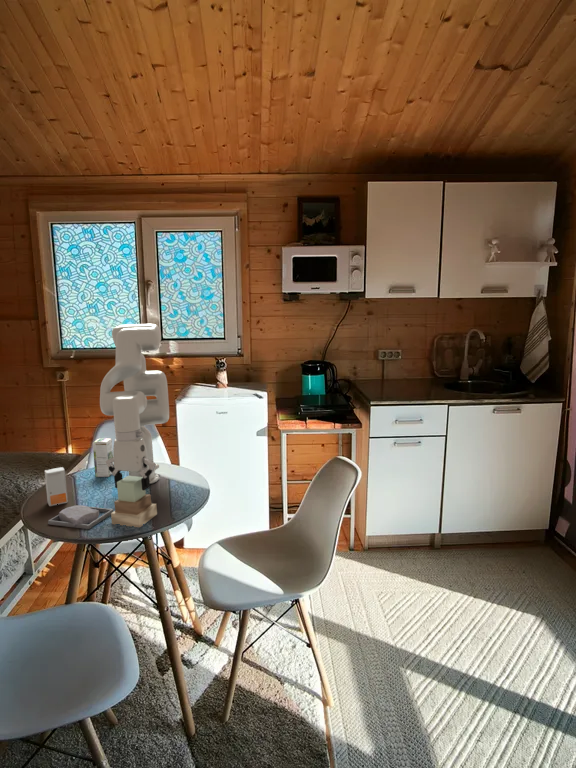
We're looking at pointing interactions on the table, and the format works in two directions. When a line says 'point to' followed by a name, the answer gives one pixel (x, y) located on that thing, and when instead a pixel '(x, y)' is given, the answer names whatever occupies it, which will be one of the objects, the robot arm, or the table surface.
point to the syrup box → (102, 456)
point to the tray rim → (84, 526)
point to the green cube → (130, 489)
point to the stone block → (78, 515)
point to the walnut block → (133, 505)
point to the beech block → (134, 517)
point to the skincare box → (56, 486)
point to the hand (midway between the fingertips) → (132, 487)
